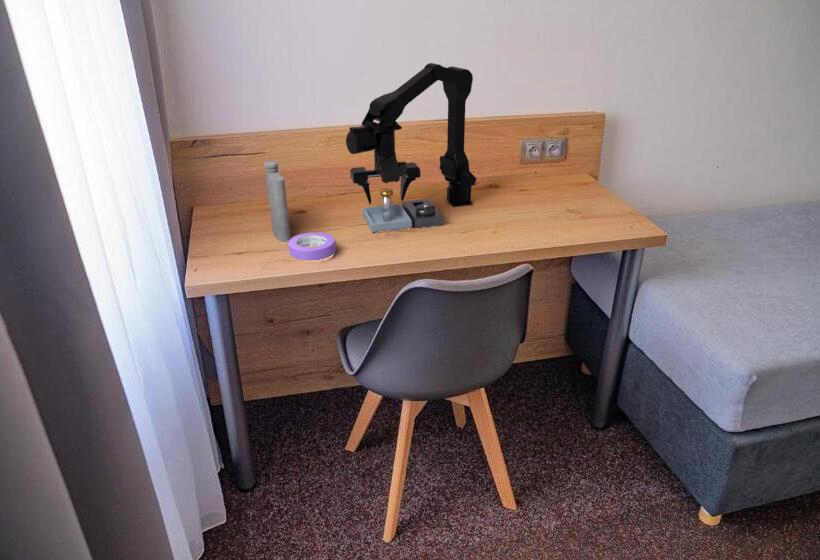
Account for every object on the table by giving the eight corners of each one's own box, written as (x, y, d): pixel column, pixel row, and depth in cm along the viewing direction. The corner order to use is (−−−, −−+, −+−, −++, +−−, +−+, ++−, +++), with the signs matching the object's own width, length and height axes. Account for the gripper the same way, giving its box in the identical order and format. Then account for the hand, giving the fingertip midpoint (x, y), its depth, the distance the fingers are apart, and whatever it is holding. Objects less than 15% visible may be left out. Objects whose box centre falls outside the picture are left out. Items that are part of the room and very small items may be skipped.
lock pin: (391, 217, 181) (391, 187, 176) (394, 222, 178) (394, 192, 173) (379, 218, 180) (378, 188, 175) (381, 223, 177) (381, 193, 172)
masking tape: (292, 245, 166) (290, 232, 164) (336, 244, 166) (335, 230, 165) (287, 265, 156) (285, 251, 154) (334, 263, 156) (333, 249, 154)
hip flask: (291, 243, 167) (283, 170, 158) (276, 245, 166) (267, 172, 156) (283, 221, 180) (275, 153, 171) (269, 223, 179) (260, 154, 170)
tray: (400, 211, 186) (399, 203, 185) (411, 228, 175) (411, 220, 173) (362, 215, 183) (362, 207, 182) (372, 233, 172) (371, 224, 171)
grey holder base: (428, 208, 188) (428, 191, 186) (442, 225, 176) (442, 207, 174) (402, 211, 186) (402, 193, 184) (415, 228, 174) (415, 210, 172)
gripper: (355, 159, 160) (358, 216, 167) (426, 153, 164) (426, 208, 171) (348, 147, 169) (351, 201, 177) (414, 141, 174) (415, 195, 181)
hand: (386, 202), depth 176 cm, fingers open, 9 cm apart
